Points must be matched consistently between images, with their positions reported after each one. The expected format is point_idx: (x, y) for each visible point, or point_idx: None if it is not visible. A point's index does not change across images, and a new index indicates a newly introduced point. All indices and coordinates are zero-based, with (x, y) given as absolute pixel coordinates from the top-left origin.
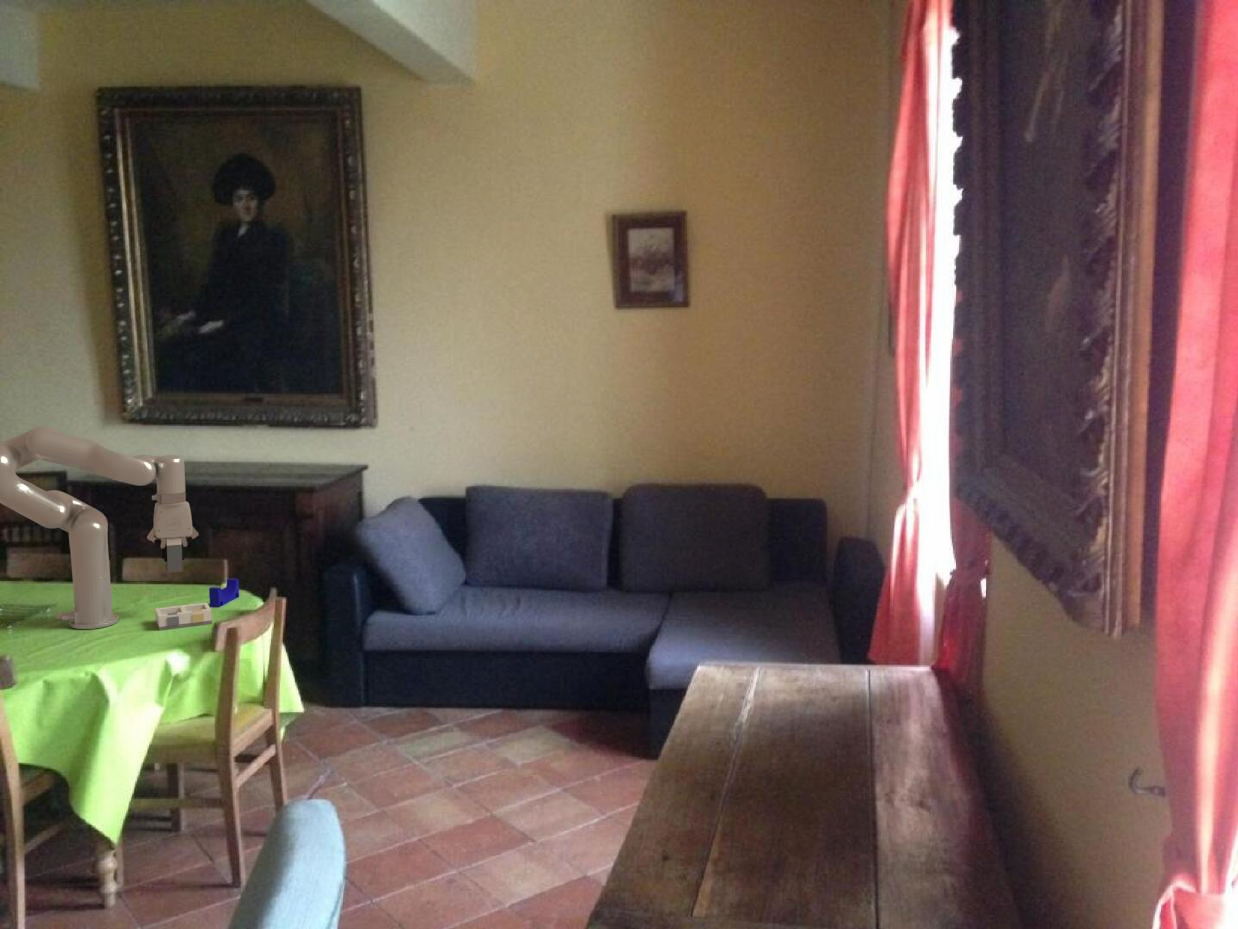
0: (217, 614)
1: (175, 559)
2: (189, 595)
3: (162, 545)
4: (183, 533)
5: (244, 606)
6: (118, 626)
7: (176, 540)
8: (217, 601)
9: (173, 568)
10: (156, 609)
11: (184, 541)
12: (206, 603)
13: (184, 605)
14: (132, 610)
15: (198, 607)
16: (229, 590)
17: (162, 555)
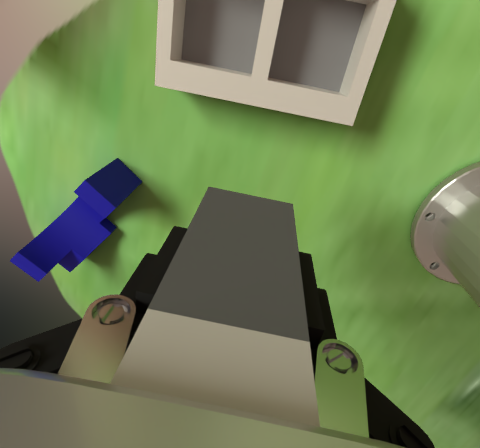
0: (136, 74)
1: (238, 235)
2: None
3: (343, 371)
4: (23, 437)
5: (39, 117)
6: (455, 144)
7: (189, 368)
8: (112, 167)
9: (259, 207)
10: (355, 107)
11: (99, 342)
12: (158, 67)
13: (243, 95)
14: (335, 277)
15: (195, 64)
16: (61, 239)
17: (323, 301)
